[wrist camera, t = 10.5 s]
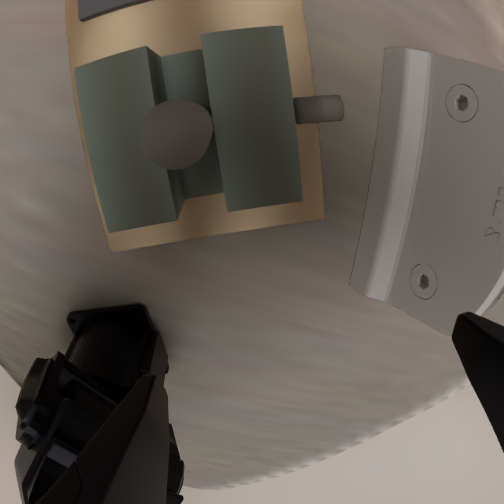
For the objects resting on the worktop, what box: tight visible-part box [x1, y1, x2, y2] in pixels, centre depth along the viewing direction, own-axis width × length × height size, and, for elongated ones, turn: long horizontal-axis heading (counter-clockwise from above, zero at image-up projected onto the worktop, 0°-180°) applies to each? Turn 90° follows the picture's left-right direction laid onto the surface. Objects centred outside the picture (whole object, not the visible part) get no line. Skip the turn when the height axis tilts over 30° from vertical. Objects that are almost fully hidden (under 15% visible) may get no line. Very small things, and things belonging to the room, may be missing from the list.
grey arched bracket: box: [349, 48, 504, 335], centre depth 15 cm, size 17×5×10 cm, turn 176°
